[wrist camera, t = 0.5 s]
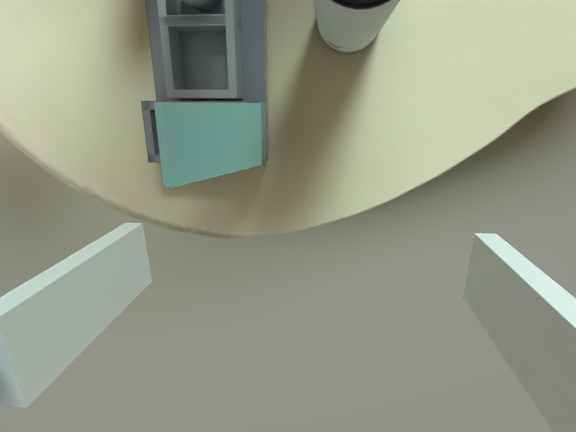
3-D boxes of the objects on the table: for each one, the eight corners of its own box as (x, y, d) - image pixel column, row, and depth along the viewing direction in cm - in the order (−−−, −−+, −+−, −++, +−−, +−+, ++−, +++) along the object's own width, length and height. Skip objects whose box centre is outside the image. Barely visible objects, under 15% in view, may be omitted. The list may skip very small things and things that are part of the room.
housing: (145, -49, 34) (120, -70, 30) (265, -55, 32) (256, -77, 28) (166, 156, 40) (148, 162, 36) (268, 158, 38) (261, 165, 35)
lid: (152, 102, 23) (163, 102, 22) (257, 103, 33) (266, 103, 32) (162, 186, 25) (171, 188, 24) (259, 163, 35) (267, 164, 34)
